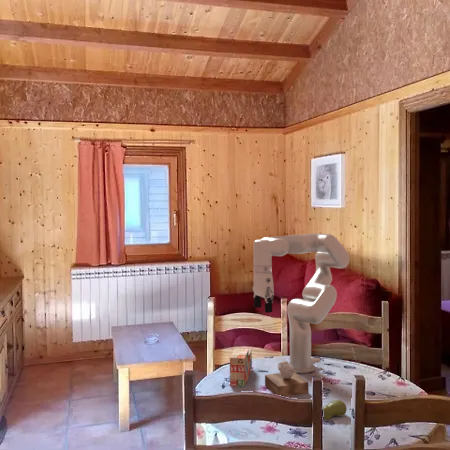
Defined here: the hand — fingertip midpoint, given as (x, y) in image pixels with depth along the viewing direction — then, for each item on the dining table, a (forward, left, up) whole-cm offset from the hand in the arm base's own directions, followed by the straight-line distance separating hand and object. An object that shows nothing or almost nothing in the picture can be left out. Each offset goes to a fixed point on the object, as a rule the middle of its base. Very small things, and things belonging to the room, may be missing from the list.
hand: (263, 309), depth 201 cm
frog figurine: (-4, +12, -26) cm, 29 cm away
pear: (-7, +39, -31) cm, 50 cm away
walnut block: (-4, +12, -31) cm, 33 cm away
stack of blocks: (+6, -8, -31) cm, 32 cm away
